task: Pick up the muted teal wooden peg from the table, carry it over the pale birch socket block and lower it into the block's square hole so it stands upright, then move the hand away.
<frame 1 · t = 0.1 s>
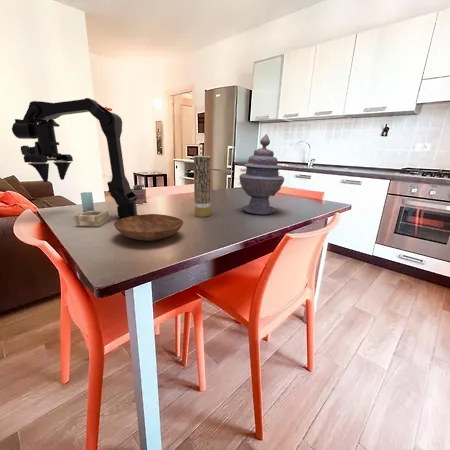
hand: (54, 180, 96), 15 cm above the table, tool pointing down, fingers open, 9 cm apart
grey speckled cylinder: (202, 215, 106), on the table
socket: (93, 223, 91), on the table
peg: (89, 217, 100), on the table
bowl: (150, 237, 78), on the table
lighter: (139, 204, 127), on the table
decorative urn: (259, 212, 115), on the table
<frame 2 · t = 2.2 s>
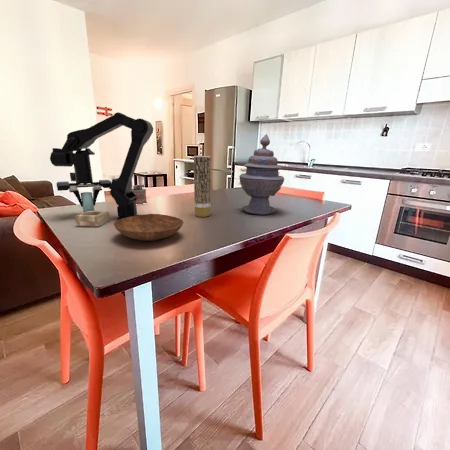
hand: (88, 206, 99), 5 cm above the table, tool pointing down, fingers closed on peg, 4 cm apart
peg: (89, 217, 100), on the table, touching gripper
everything else where it was.
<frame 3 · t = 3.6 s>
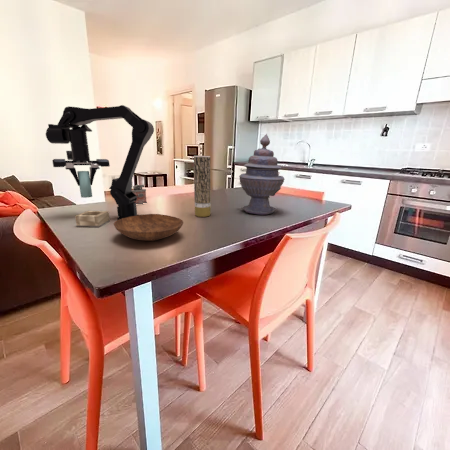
hand: (85, 185, 97), 13 cm above the table, tool pointing down, fingers closed on peg, 4 cm apart
peg: (86, 196, 98), point 8 cm above the table, touching gripper
everything else where it was.
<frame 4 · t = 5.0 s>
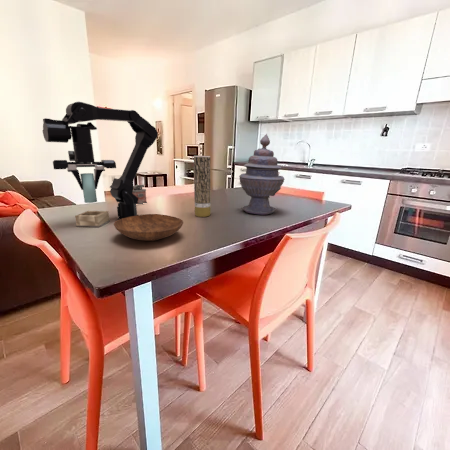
hand: (89, 189, 87), 13 cm above the table, tool pointing down, fingers closed on peg, 4 cm apart
peg: (90, 201, 88), point 8 cm above the table, touching gripper
everything else where it was.
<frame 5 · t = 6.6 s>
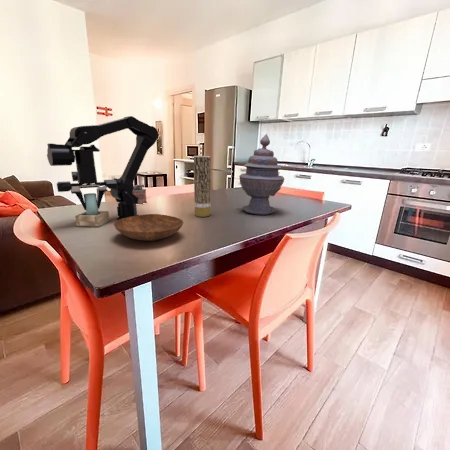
hand: (92, 209, 89), 6 cm above the table, tool pointing down, fingers closed on peg, 4 cm apart
peg: (93, 220, 90), point 1 cm above the table, touching gripper
everything else where it was.
when the fingers open (5 cm above the table, at t = 7.8 s): peg stays where it is, resting on socket.
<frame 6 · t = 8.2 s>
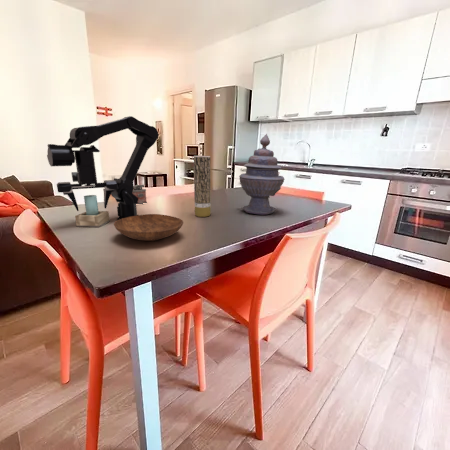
hand: (92, 209, 89), 5 cm above the table, tool pointing down, fingers open, 9 cm apart
peg: (93, 222, 91), point 1 cm above the table, touching socket
everything else where it was.
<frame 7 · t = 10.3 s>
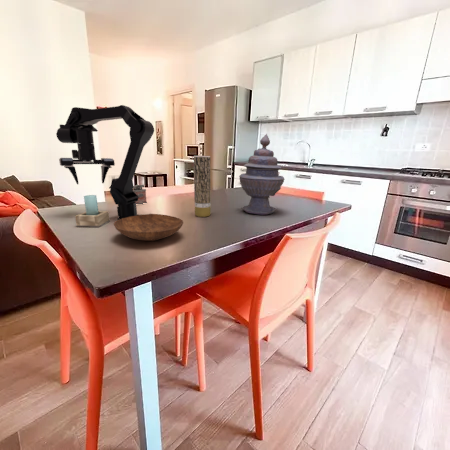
hand: (90, 183, 100), 13 cm above the table, tool pointing down, fingers open, 9 cm apart
nothing on the table moved.
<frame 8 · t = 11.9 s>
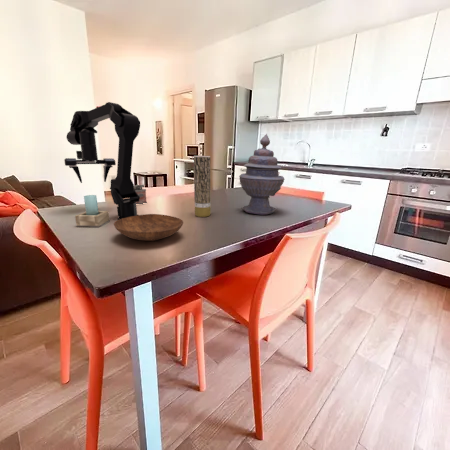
hand: (93, 182, 106), 13 cm above the table, tool pointing down, fingers open, 9 cm apart
nothing on the table moved.
at the end: peg 0.0 cm off-centre on the socket, point 0.5 cm above the socket's base; peg tilted 0°; the gripper is holding nothing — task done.
